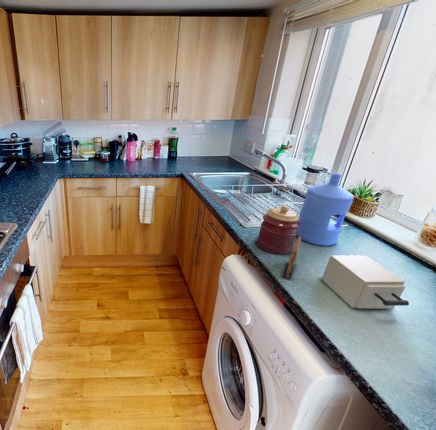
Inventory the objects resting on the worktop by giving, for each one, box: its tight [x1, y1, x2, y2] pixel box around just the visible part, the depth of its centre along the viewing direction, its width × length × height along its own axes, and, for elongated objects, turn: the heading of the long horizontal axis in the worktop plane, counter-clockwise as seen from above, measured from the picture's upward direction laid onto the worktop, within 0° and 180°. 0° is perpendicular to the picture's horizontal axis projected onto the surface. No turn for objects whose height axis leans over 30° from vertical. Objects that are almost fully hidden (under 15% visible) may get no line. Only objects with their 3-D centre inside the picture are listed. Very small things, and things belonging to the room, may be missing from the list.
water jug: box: [296, 173, 355, 247], centre depth 118 cm, size 16×16×28 cm
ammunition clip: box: [283, 236, 302, 280], centre depth 98 cm, size 11×2×12 cm, turn 143°
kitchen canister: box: [256, 205, 300, 255], centre depth 112 cm, size 13×13×18 cm
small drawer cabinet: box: [321, 254, 405, 309], centre depth 89 cm, size 14×12×10 cm
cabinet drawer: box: [356, 284, 410, 309], centre depth 85 cm, size 17×10×8 cm, turn 1°
